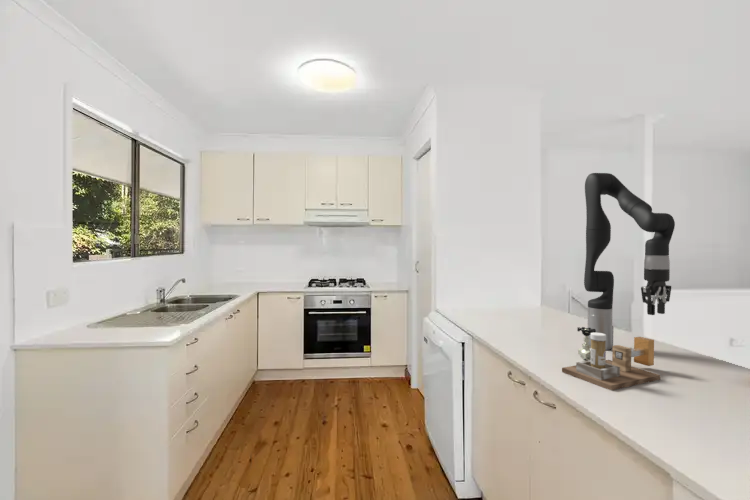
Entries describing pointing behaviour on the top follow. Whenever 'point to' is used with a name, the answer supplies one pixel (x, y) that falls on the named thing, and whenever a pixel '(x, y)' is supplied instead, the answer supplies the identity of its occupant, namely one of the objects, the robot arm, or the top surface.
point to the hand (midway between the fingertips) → (655, 313)
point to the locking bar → (641, 351)
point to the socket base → (612, 371)
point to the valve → (585, 349)
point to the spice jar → (598, 350)
